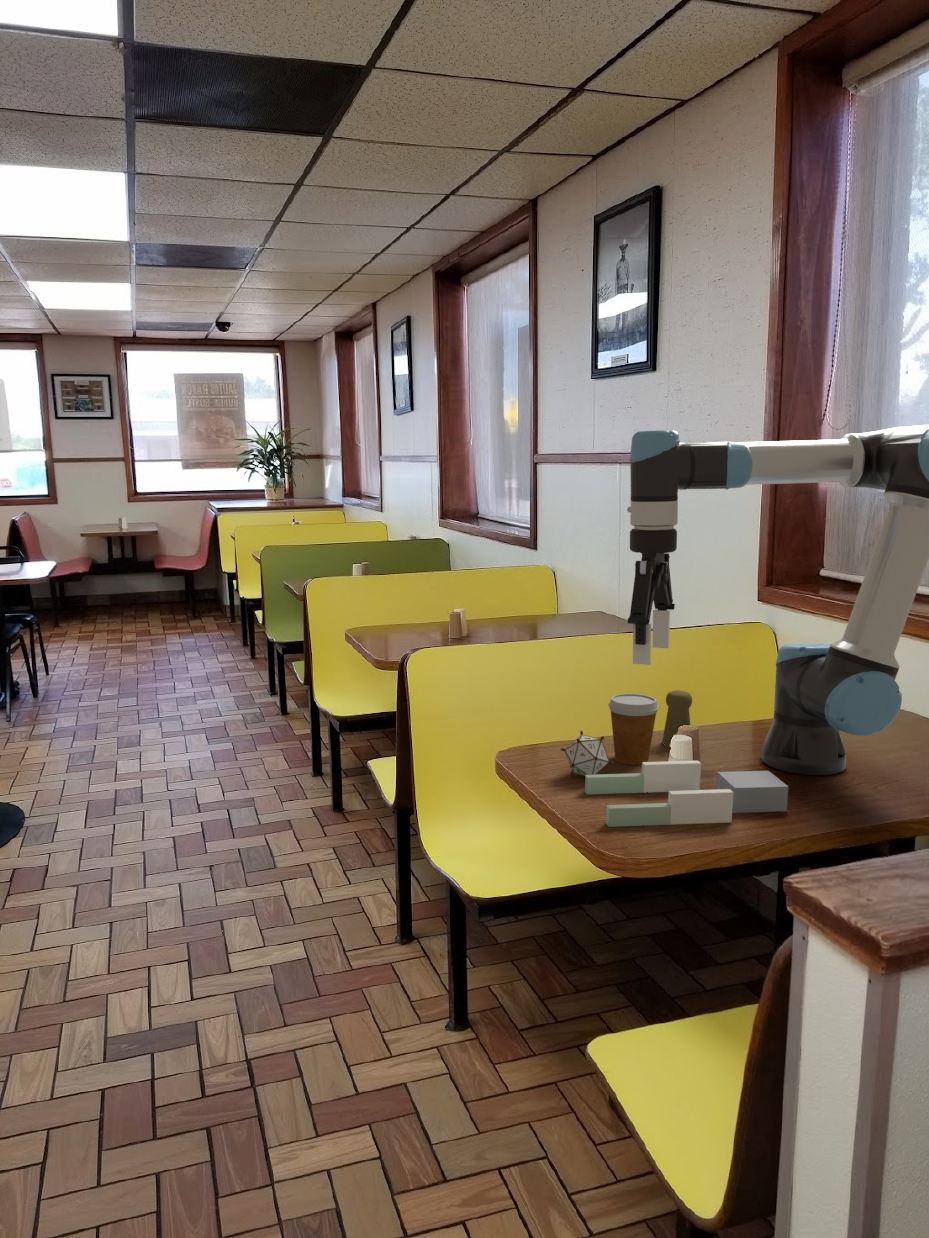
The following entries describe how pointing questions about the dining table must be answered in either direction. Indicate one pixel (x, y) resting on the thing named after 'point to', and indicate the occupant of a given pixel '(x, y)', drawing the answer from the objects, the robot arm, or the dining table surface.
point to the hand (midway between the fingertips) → (651, 655)
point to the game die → (586, 755)
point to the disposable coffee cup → (632, 726)
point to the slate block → (754, 791)
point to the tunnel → (663, 777)
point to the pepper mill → (676, 713)
